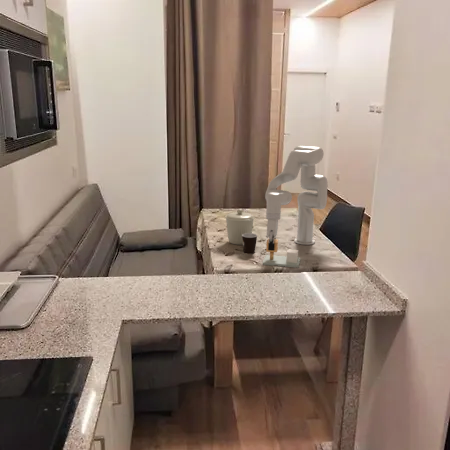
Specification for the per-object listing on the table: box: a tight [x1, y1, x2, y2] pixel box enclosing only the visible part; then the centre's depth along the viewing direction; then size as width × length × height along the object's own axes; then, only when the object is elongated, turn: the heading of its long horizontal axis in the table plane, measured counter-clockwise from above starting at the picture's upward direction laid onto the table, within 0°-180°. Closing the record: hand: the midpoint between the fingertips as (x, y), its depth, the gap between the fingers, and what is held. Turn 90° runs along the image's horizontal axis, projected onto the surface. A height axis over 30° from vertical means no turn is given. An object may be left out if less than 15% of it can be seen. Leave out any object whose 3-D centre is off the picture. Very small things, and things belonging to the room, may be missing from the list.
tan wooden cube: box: [265, 238, 279, 253], centre depth 241 cm, size 6×6×6 cm
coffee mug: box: [242, 233, 258, 255], centre depth 258 cm, size 12×9×10 cm
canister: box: [224, 208, 256, 246], centre depth 273 cm, size 18×18×21 cm
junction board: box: [262, 248, 301, 268], centre depth 241 cm, size 13×19×7 cm
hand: (272, 248), depth 242 cm, fingers closed on tan wooden cube, 5 cm apart
